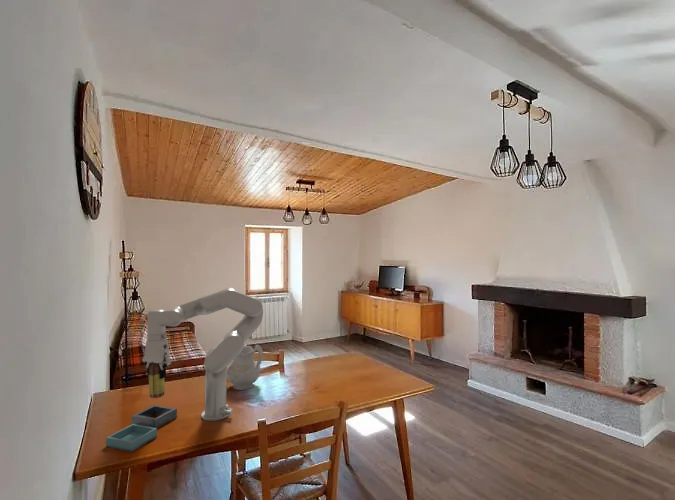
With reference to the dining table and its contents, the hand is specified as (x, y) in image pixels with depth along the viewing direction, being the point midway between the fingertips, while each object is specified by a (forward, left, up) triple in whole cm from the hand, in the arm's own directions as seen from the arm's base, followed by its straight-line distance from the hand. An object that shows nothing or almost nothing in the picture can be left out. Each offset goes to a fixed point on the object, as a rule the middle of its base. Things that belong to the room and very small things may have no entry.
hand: (156, 376), depth 169 cm
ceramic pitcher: (-14, -53, -20) cm, 58 cm away
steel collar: (0, 0, -20) cm, 20 cm away
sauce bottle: (0, 0, -9) cm, 9 cm away
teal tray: (-6, +18, -20) cm, 27 cm away
